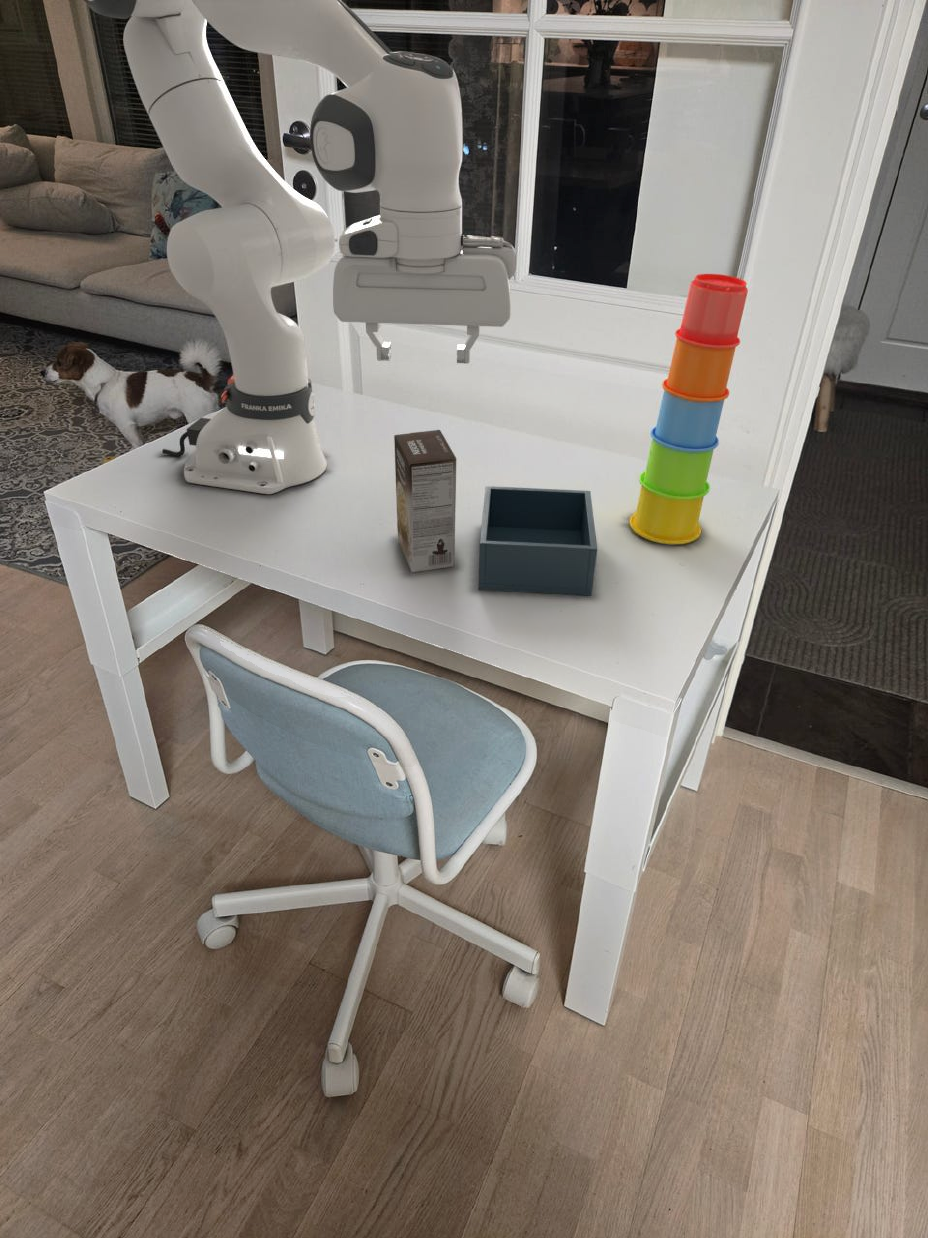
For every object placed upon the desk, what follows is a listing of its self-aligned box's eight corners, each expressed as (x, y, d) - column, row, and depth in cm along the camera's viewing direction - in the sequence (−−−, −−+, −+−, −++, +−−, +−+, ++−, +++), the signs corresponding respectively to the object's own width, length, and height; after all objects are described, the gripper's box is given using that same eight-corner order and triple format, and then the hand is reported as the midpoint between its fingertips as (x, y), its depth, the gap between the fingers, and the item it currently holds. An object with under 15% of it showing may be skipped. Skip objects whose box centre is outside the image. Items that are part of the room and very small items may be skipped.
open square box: (478, 589, 106) (479, 543, 102) (484, 529, 118) (485, 485, 114) (591, 595, 105) (597, 549, 101) (585, 534, 118) (590, 490, 114)
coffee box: (396, 539, 116) (392, 432, 106) (439, 533, 117) (439, 428, 108) (410, 573, 109) (408, 462, 99) (457, 567, 110) (458, 457, 101)
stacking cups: (628, 508, 124) (666, 267, 104) (697, 515, 123) (749, 271, 102) (629, 543, 116) (670, 288, 95) (703, 550, 115) (760, 293, 94)
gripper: (517, 230, 91) (511, 354, 99) (335, 226, 92) (344, 349, 100) (516, 243, 86) (510, 372, 94) (324, 238, 87) (334, 366, 95)
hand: (423, 360), depth 97 cm, fingers open, 8 cm apart
